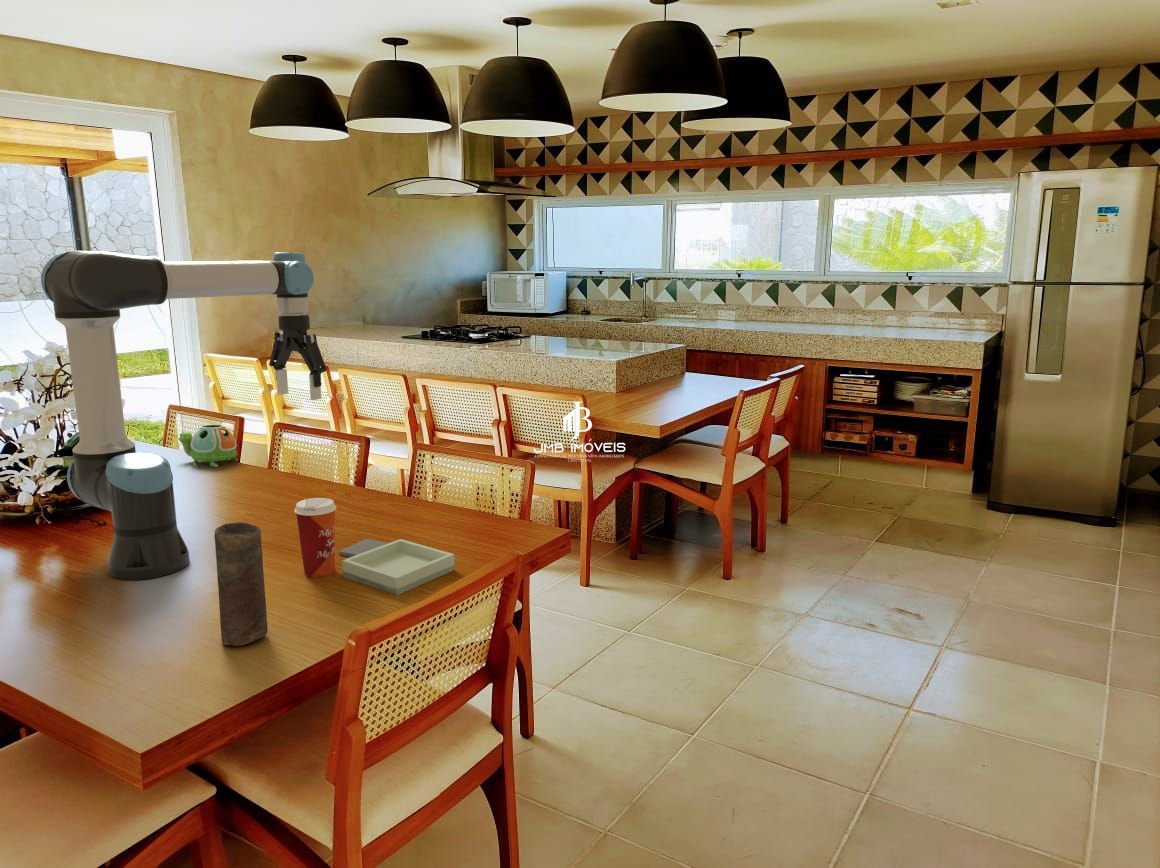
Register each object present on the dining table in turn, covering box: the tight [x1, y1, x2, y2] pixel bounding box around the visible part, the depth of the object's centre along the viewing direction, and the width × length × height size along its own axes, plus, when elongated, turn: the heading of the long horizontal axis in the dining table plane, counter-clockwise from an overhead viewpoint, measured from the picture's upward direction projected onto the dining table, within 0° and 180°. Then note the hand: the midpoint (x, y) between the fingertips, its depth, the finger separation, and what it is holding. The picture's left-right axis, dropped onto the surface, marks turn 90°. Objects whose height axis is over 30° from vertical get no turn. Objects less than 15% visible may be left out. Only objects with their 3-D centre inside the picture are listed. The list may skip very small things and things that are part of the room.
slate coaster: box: [338, 538, 389, 558], centre depth 183 cm, size 9×9×1 cm
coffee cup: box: [294, 497, 338, 578], centre depth 170 cm, size 8×8×15 cm
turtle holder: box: [178, 423, 239, 468], centre depth 258 cm, size 12×18×12 cm
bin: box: [341, 538, 456, 596], centre depth 170 cm, size 16×16×4 cm
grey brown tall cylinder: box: [213, 521, 269, 647], centre depth 139 cm, size 8×7×20 cm
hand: (299, 396), depth 214 cm, fingers open, 13 cm apart
